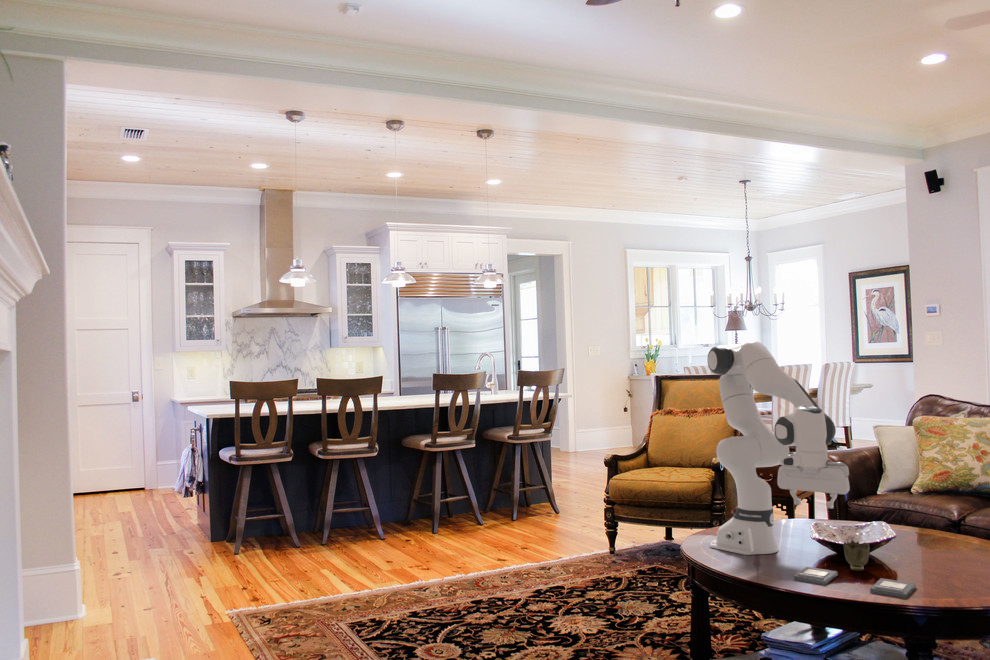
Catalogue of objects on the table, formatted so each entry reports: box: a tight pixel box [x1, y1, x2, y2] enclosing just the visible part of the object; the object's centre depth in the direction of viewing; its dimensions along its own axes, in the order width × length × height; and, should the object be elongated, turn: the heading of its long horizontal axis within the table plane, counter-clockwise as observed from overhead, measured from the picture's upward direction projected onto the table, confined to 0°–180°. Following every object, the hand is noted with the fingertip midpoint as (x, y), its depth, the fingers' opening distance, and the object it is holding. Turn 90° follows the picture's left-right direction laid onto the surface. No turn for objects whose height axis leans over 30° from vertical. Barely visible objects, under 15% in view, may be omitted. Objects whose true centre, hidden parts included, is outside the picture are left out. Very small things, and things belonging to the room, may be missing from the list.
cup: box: [843, 540, 871, 572], centre depth 233 cm, size 8×7×8 cm
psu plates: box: [793, 566, 917, 600], centre depth 220 cm, size 30×12×2 cm, turn 50°
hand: (813, 506), depth 227 cm, fingers open, 8 cm apart
